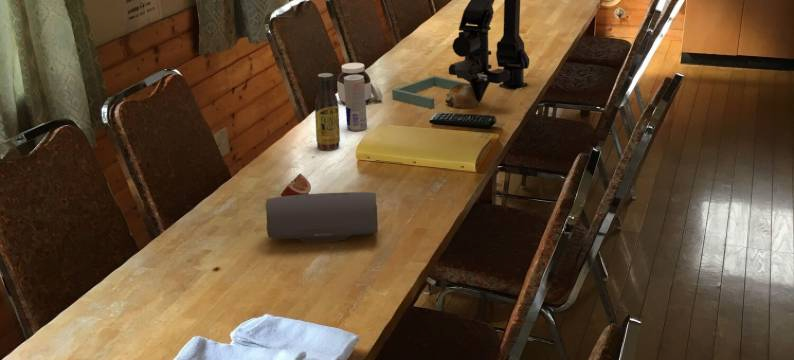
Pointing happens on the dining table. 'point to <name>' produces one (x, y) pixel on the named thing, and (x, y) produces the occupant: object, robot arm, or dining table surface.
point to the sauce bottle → (327, 114)
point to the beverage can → (355, 102)
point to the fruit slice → (297, 187)
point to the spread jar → (370, 85)
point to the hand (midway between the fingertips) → (479, 100)
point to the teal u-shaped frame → (409, 90)
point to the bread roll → (462, 97)
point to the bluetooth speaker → (322, 216)
